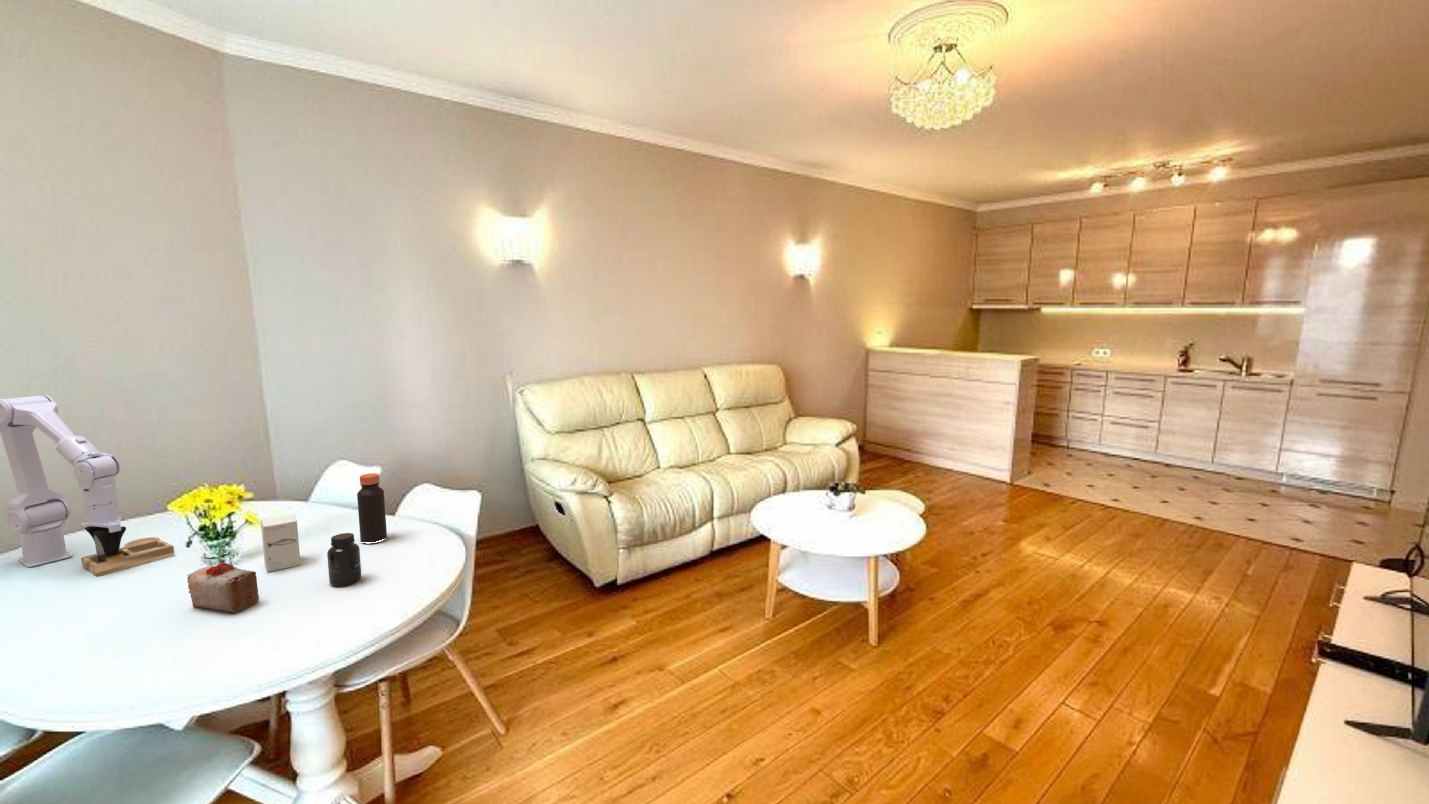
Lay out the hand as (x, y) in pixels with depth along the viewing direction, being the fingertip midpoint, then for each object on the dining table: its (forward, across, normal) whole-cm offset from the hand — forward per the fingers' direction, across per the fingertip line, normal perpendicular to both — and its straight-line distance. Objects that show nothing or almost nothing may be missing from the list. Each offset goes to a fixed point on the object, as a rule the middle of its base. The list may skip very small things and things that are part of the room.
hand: (108, 552), depth 147 cm
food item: (+4, +48, +6) cm, 49 cm away
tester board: (+4, 0, +4) cm, 5 cm away
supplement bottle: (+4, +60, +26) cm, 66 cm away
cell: (+3, 0, 0) cm, 3 cm away
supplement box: (+4, +36, +23) cm, 43 cm away
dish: (+4, -8, +9) cm, 12 cm away
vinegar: (+4, +40, +45) cm, 60 cm away
